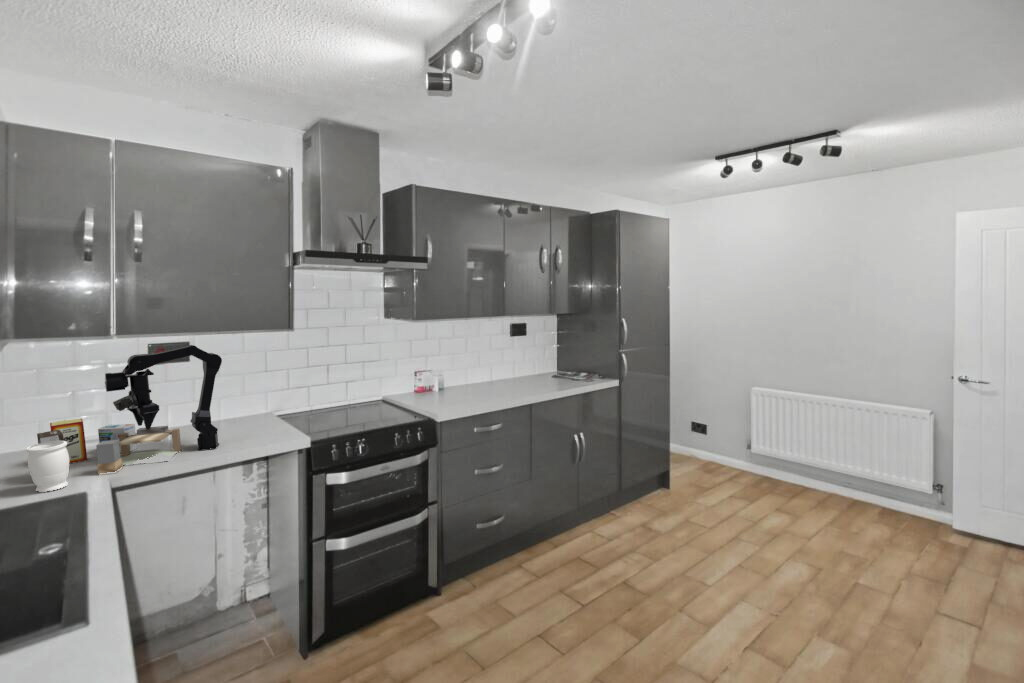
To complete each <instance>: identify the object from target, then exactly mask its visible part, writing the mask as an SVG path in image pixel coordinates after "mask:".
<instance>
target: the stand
mask: <svg viewBox="0 0 1024 683" xmlns="http://www.w3.org/2000/svg"><path fill="white" fill-rule="evenodd" d="M170 430H171V432H170V435H171V439H172V440H171V441H172V449H164V450H163V449H162V450H151V451H141V452H140V451H139V452H130V444H127V445H121V454H120V455H121V458H122V465H126V464H133V463H134V462H136V461H137V460H138V459H139V460H143V459H145V458H147V457H149V458H150V457H153V456H156V454H157V455H159V453H160V454H164V455H167V456H170V455H174V454H175V453H177V452H179V451H181V452H182V444H181V443H182V442H181V433H180V431H181V430H180V428H173V429H170ZM170 435H169V436H170ZM129 436H130V435H128V433H122V434H120V442H121V441H122V440H124V439H126V438H127V437H129ZM179 453H180V452H179ZM177 454H178V453H177ZM152 455H153V456H152ZM149 458H147V459H149Z"/></svg>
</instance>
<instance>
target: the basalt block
mask: <svg viewBox="0 0 1024 683" xmlns="http://www.w3.org/2000/svg"><path fill="white" fill-rule="evenodd" d="M95 446H96V452H97V462H98V463H97V464H104V463H114V462H116V461H117V460H119V459H120V458H121V454H120V450H119V440H110V441H102V442H100V443H99V442H98V443H97V444H96V445H95Z"/></svg>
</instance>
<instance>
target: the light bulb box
mask: <svg viewBox="0 0 1024 683" xmlns="http://www.w3.org/2000/svg"><path fill="white" fill-rule="evenodd" d="M97 433H98V434H97V435H98V441H99V442H98V444H99V443H100V442H102V441H110V440H119V442H120V434H122V433H128V435H130V436H131V435H134V434H136V433H137V431H136V424H135V423H126V424H125V423H124V424H123V423H121V424H117V423H116V424H107V425H104V426H103V427H100V428H99V427H98V429H97ZM136 448H137V449H138V444H130V451H131V452H133V451H135V450H137V449H136ZM134 449H135V450H134ZM119 450H120V453H121V445H119ZM132 450H133V451H132Z"/></svg>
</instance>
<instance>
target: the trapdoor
mask: <svg viewBox="0 0 1024 683" xmlns="http://www.w3.org/2000/svg"><path fill="white" fill-rule="evenodd" d="M171 430H172V429H169V426H168V425H163V426H162V425H161V426H160V425H159V426H151V428H150V429H148V430H147V429H146V427H139V428H137V429H136V434H134V435H131V436H129V437H127V438H126V439H124V440H122V441H121V442H119V445H127V444H137V445H138V444H146V443H160V442H162V441H164V440H165V439H166V438H168V436H169V437H170V432H171Z"/></svg>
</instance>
